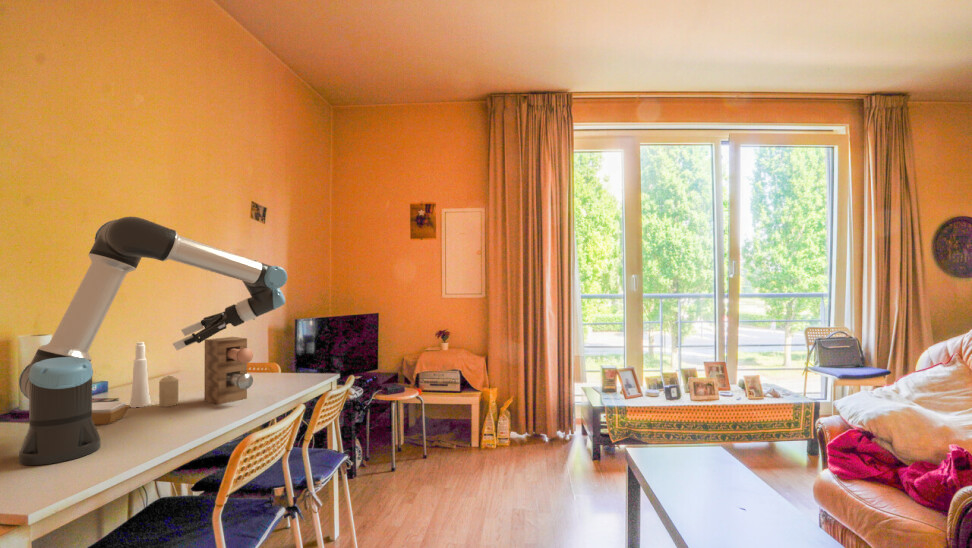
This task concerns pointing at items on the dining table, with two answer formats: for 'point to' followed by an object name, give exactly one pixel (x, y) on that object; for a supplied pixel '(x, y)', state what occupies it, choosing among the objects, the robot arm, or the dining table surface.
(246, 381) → the steel plug
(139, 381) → the cosmetic bottle
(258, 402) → the dining table surface
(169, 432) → the dining table surface
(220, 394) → the socket block
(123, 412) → the soap dish
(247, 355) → the terracotta plug
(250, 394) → the dining table surface
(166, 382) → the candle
